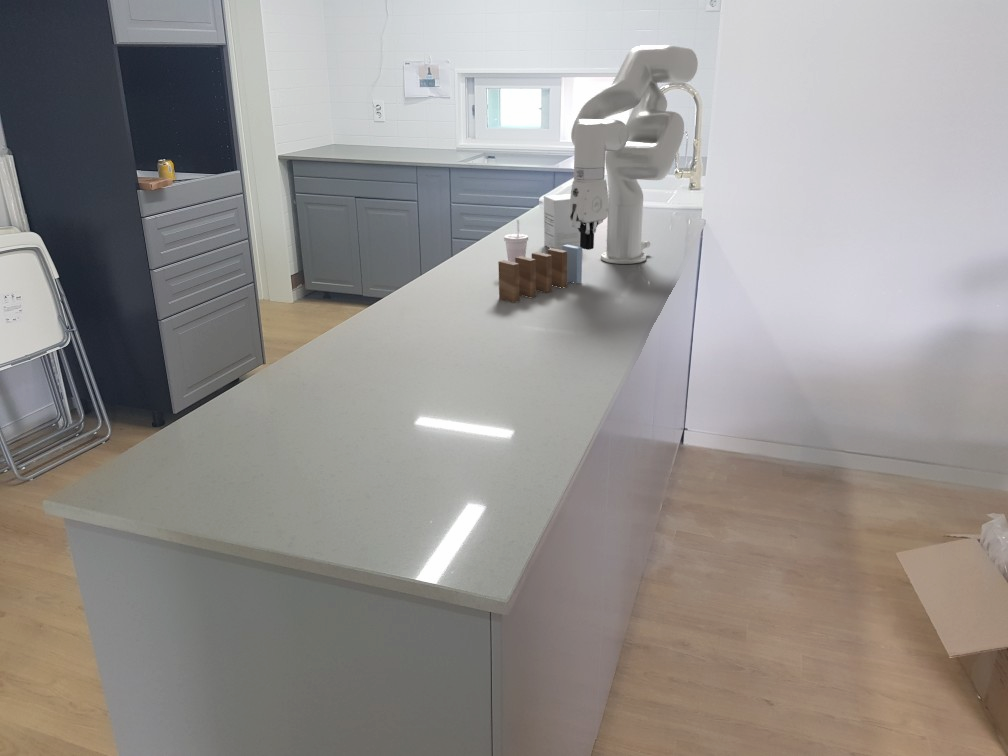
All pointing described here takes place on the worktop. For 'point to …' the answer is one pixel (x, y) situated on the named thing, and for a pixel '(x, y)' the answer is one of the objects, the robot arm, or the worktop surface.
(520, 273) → the tile
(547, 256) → the tile
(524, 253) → the smoothie
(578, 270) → the tile
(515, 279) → the tile
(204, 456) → the worktop surface
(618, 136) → the robot arm
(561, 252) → the tile
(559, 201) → the supplement box
